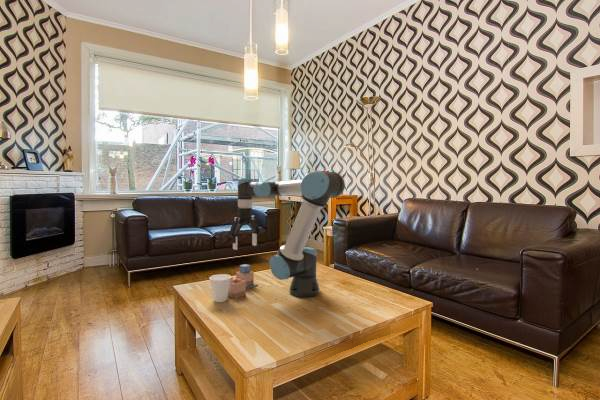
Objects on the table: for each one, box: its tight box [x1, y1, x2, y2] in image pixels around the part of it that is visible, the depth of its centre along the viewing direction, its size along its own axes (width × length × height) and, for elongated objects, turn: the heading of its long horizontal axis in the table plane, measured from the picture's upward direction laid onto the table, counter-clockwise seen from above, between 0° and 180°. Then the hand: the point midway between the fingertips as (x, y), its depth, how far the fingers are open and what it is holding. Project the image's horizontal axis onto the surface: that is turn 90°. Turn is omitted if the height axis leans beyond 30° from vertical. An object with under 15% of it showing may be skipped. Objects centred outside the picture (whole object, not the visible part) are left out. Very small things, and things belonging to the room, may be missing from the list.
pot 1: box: [235, 270, 255, 287], centre depth 170 cm, size 6×6×7 cm
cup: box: [209, 273, 232, 303], centre depth 149 cm, size 10×10×11 cm
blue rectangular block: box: [239, 263, 251, 274], centre depth 170 cm, size 4×4×8 cm
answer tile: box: [246, 283, 259, 291], centre depth 170 cm, size 10×10×1 cm
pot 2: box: [228, 278, 247, 299], centre depth 156 cm, size 6×6×7 cm
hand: (245, 247), depth 169 cm, fingers open, 13 cm apart
